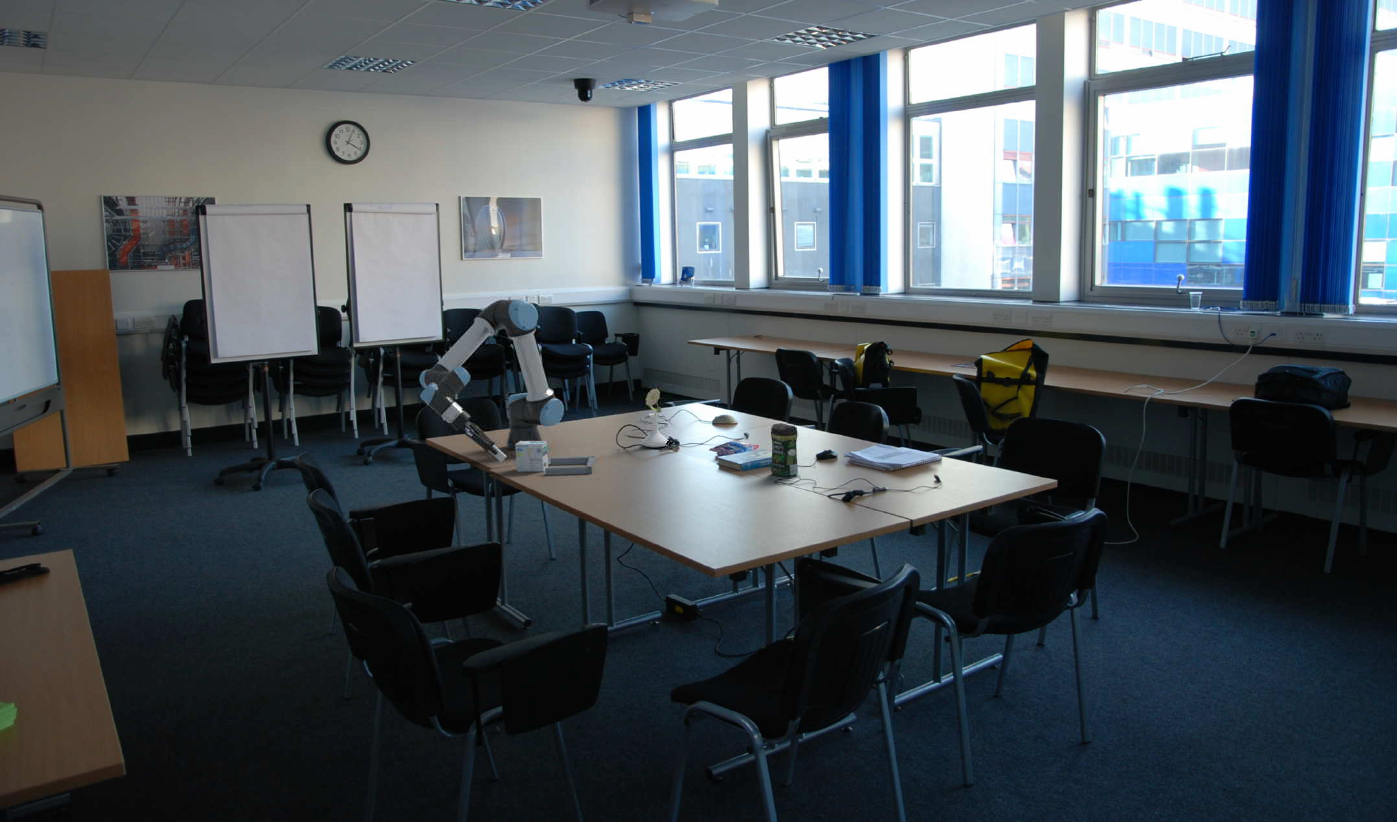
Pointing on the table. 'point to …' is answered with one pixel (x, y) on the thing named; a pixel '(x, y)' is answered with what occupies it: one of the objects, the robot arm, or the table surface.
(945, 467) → the table surface
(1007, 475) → the table surface
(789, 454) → the coffee jar
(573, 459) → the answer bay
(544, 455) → the light bulb box
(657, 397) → the flower in vase
